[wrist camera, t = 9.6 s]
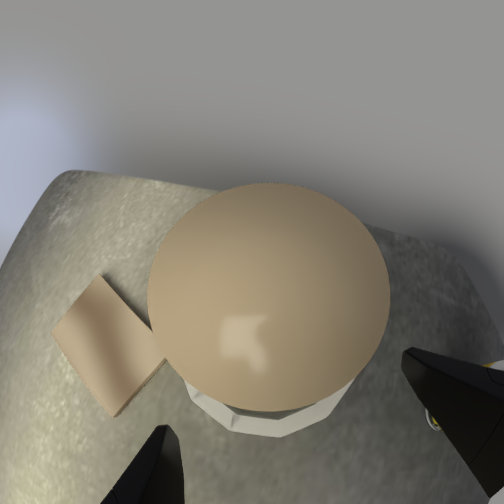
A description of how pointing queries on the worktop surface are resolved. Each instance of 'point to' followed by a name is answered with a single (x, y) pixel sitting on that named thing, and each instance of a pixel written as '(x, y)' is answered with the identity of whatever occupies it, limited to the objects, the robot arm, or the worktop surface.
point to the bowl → (266, 414)
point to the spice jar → (268, 297)
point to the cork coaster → (108, 346)
